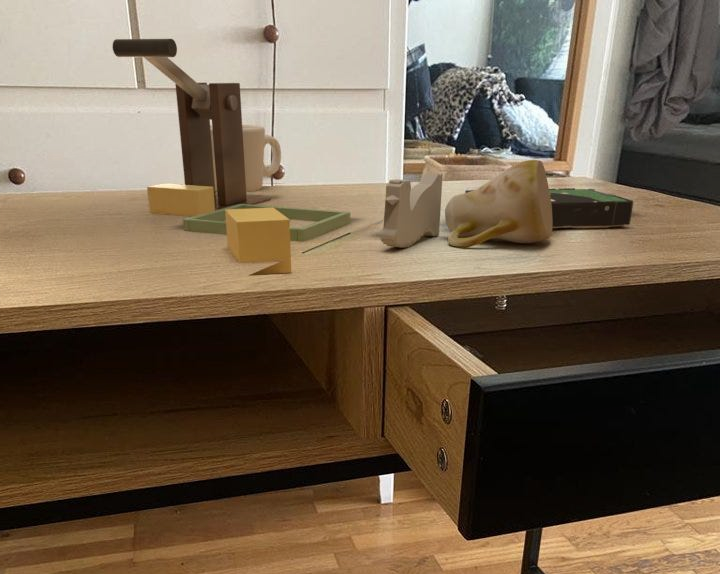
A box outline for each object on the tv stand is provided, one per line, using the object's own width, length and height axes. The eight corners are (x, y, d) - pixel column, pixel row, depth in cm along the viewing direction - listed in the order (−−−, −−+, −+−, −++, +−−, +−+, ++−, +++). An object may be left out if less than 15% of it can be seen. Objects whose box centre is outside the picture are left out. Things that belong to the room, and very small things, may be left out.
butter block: (150, 222, 79) (146, 186, 77) (168, 218, 81) (164, 183, 80) (200, 227, 77) (197, 190, 75) (216, 222, 79) (213, 186, 78)
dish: (184, 241, 70) (182, 219, 69) (241, 224, 78) (240, 203, 77) (303, 253, 66) (303, 229, 65) (350, 233, 74) (350, 211, 73)
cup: (264, 189, 102) (260, 123, 98) (298, 195, 97) (296, 126, 93) (192, 195, 96) (185, 125, 92) (224, 203, 91) (219, 129, 87)
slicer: (225, 223, 79) (214, 83, 73) (160, 217, 82) (145, 82, 76) (271, 209, 87) (265, 82, 81) (211, 204, 90) (201, 82, 84)
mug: (444, 232, 76) (502, 138, 72) (522, 287, 74) (587, 193, 70) (420, 224, 69) (483, 120, 65) (506, 284, 67) (576, 180, 63)
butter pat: (291, 272, 60) (289, 219, 58) (240, 275, 58) (237, 221, 57) (275, 257, 65) (273, 207, 63) (228, 259, 63) (224, 209, 62)
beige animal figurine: (438, 236, 74) (391, 253, 66) (425, 234, 74) (377, 251, 67) (442, 172, 71) (394, 182, 63) (429, 171, 72) (379, 181, 64)
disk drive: (493, 233, 75) (631, 227, 78) (495, 203, 74) (636, 198, 76) (461, 216, 84) (587, 211, 87) (463, 189, 83) (590, 185, 85)
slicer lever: (165, 57, 67) (169, 29, 67) (110, 57, 69) (114, 30, 69) (239, 120, 80) (242, 97, 79) (190, 119, 82) (194, 96, 81)
